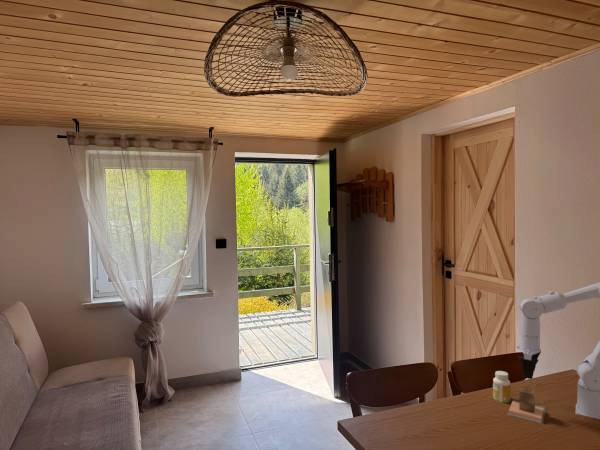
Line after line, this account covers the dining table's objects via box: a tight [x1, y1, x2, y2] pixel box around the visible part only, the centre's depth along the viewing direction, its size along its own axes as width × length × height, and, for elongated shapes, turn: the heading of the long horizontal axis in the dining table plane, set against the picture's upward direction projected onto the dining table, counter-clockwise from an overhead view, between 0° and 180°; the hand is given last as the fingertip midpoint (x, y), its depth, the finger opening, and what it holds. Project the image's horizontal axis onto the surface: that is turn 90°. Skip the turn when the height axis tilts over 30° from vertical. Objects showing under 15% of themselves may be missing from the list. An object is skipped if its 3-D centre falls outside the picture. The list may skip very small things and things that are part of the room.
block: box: [518, 386, 536, 413], centre depth 131 cm, size 4×4×6 cm
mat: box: [506, 399, 547, 425], centre depth 133 cm, size 10×13×1 cm
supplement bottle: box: [492, 370, 511, 403], centre depth 141 cm, size 5×5×10 cm
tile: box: [508, 400, 544, 424], centre depth 131 cm, size 9×1×8 cm
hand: (529, 374), depth 138 cm, fingers open, 7 cm apart
